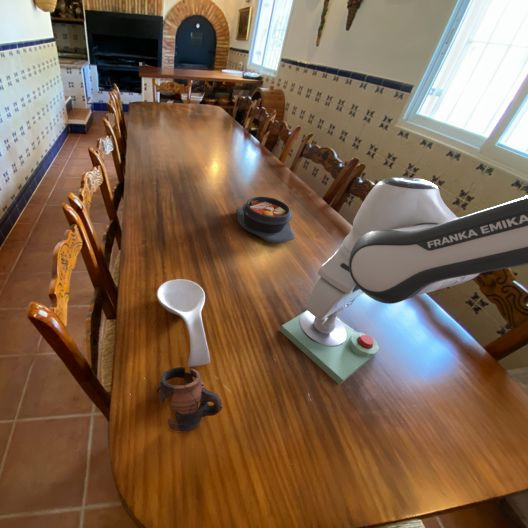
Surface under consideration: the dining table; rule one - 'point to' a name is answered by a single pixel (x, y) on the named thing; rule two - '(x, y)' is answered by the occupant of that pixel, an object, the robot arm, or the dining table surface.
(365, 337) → the tare button
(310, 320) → the pan
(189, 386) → the pottery mug
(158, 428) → the dining table surface
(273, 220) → the casserole
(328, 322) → the rook chess piece
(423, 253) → the robot arm
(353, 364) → the scale
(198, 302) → the spoon rest
